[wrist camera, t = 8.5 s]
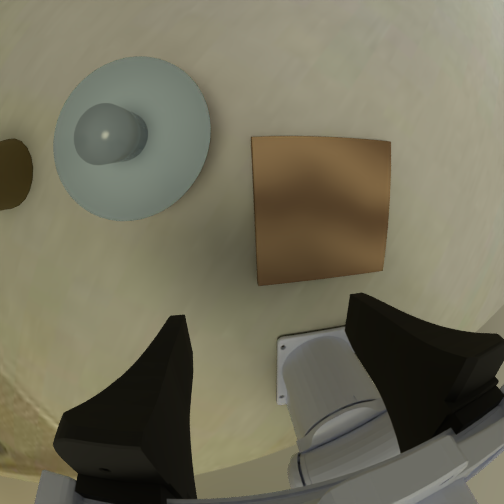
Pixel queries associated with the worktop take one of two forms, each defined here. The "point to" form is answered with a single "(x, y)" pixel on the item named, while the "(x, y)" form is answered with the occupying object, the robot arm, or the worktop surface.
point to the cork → (14, 173)
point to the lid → (132, 138)
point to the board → (319, 206)
